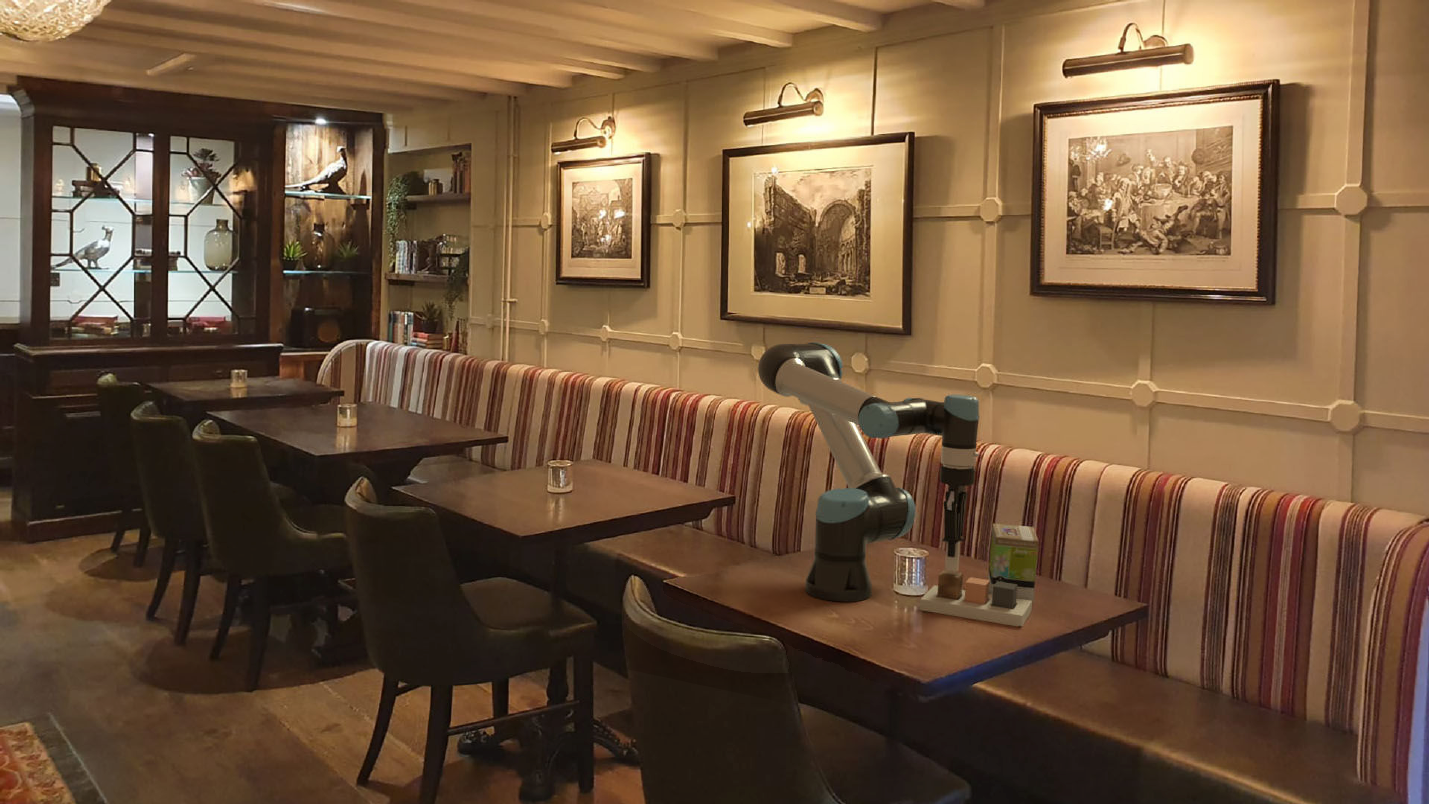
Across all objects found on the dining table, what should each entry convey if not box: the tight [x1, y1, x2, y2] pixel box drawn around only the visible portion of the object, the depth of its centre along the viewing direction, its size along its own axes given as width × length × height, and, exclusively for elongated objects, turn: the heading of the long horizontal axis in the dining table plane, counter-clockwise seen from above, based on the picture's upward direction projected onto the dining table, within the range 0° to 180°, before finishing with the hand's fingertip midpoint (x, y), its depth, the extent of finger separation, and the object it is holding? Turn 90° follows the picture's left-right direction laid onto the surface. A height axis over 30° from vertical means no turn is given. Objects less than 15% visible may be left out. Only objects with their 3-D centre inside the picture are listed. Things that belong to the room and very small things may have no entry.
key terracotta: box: [964, 577, 990, 605], centre depth 244 cm, size 4×4×5 cm
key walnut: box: [937, 569, 964, 600], centre depth 247 cm, size 4×4×5 cm
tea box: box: [987, 523, 1040, 603], centre depth 259 cm, size 15×10×15 cm
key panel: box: [919, 584, 1033, 628], centre depth 245 cm, size 22×12×2 cm, turn 65°
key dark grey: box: [992, 581, 1018, 609], centre depth 242 cm, size 4×4×5 cm
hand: (951, 569), depth 246 cm, fingers closed
